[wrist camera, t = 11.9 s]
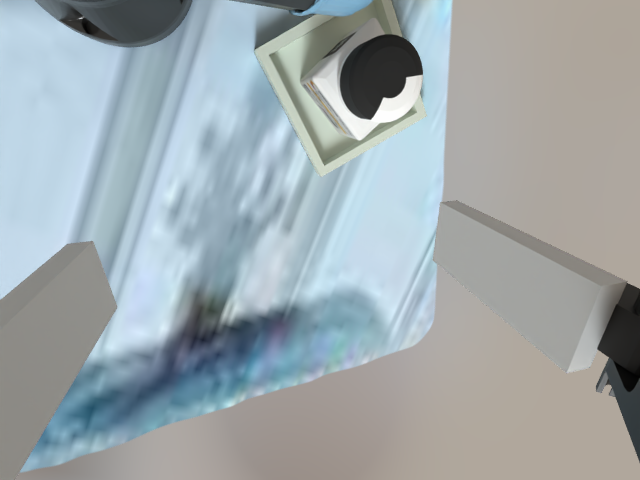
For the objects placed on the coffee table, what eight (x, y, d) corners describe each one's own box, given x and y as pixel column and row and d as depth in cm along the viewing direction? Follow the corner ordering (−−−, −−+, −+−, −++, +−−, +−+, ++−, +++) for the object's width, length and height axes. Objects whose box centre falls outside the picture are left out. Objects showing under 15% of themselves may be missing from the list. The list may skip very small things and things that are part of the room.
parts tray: (254, 52, 34) (255, 49, 32) (374, -17, 34) (383, -25, 32) (316, 172, 41) (320, 177, 39) (416, 115, 41) (426, 116, 39)
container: (297, 81, 36) (325, 73, 24) (349, 31, 35) (402, -3, 23) (339, 135, 39) (380, 149, 27) (387, 90, 38) (450, 86, 27)
